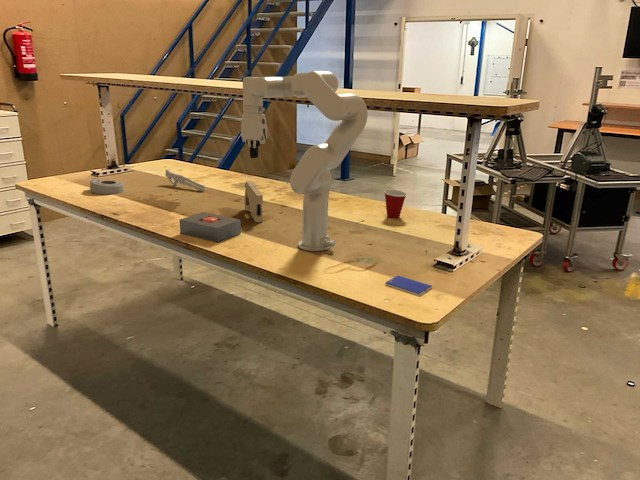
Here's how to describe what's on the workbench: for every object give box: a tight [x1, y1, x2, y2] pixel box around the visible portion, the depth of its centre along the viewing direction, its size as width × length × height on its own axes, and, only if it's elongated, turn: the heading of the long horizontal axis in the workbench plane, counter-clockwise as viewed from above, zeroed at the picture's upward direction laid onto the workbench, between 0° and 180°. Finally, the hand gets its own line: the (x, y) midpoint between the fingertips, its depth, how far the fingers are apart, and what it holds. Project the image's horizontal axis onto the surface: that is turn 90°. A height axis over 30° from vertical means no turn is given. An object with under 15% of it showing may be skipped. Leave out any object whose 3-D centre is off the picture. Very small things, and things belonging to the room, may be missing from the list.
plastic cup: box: [383, 189, 408, 219], centre depth 240 cm, size 11×11×12 cm
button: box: [202, 217, 218, 223], centre depth 209 cm, size 6×6×3 cm
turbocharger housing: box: [89, 177, 125, 196], centre depth 273 cm, size 17×6×15 cm
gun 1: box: [164, 169, 206, 193], centre depth 286 cm, size 2×30×8 cm, turn 57°
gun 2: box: [243, 180, 264, 223], centre depth 235 cm, size 24×3×15 cm, turn 21°
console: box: [179, 211, 242, 243], centre depth 210 cm, size 20×14×6 cm
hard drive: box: [384, 275, 433, 297], centre depth 165 cm, size 2×8×12 cm
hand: (254, 157), depth 205 cm, fingers closed
